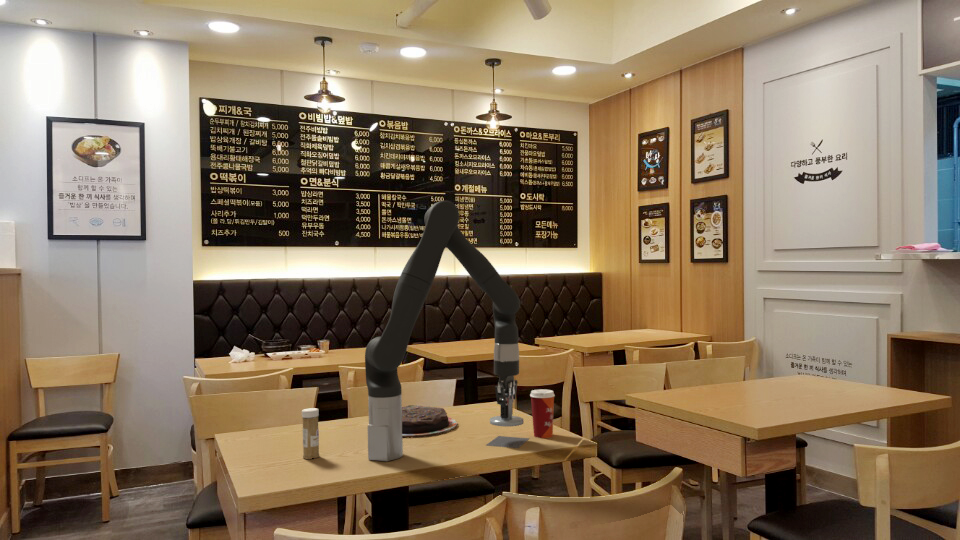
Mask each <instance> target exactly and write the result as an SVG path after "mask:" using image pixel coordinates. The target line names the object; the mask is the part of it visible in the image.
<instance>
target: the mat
mask: <svg viewBox="0 0 960 540" xmlns="http://www.w3.org/2000/svg"><path fill="white" fill-rule="evenodd" d="M528 440H530V438H528V437H516V436H505V435H497V436H496V437H495V438H494V439H492V440H491V441H490V442H488V443H486V444H485V446H486V447H500V448H511V449H512V448H513V449H519V448H521V446H523V445H524V444H525V443H526V442H527V441H528Z"/></svg>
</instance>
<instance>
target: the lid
mask: <svg viewBox="0 0 960 540" xmlns="http://www.w3.org/2000/svg"><path fill="white" fill-rule="evenodd" d="M502 400H503V398H502ZM508 403H509V404H508V418H507V419H505V418H501V415H495V416H492V417H490V418H489V424H491V425H492V426H497V427H508V428H509V427H517V426H518V427H519V426H522V425H524V421H525V420H524V418H523V417H521V416H517V415H513V414H512V398H509V402H508Z"/></svg>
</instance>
